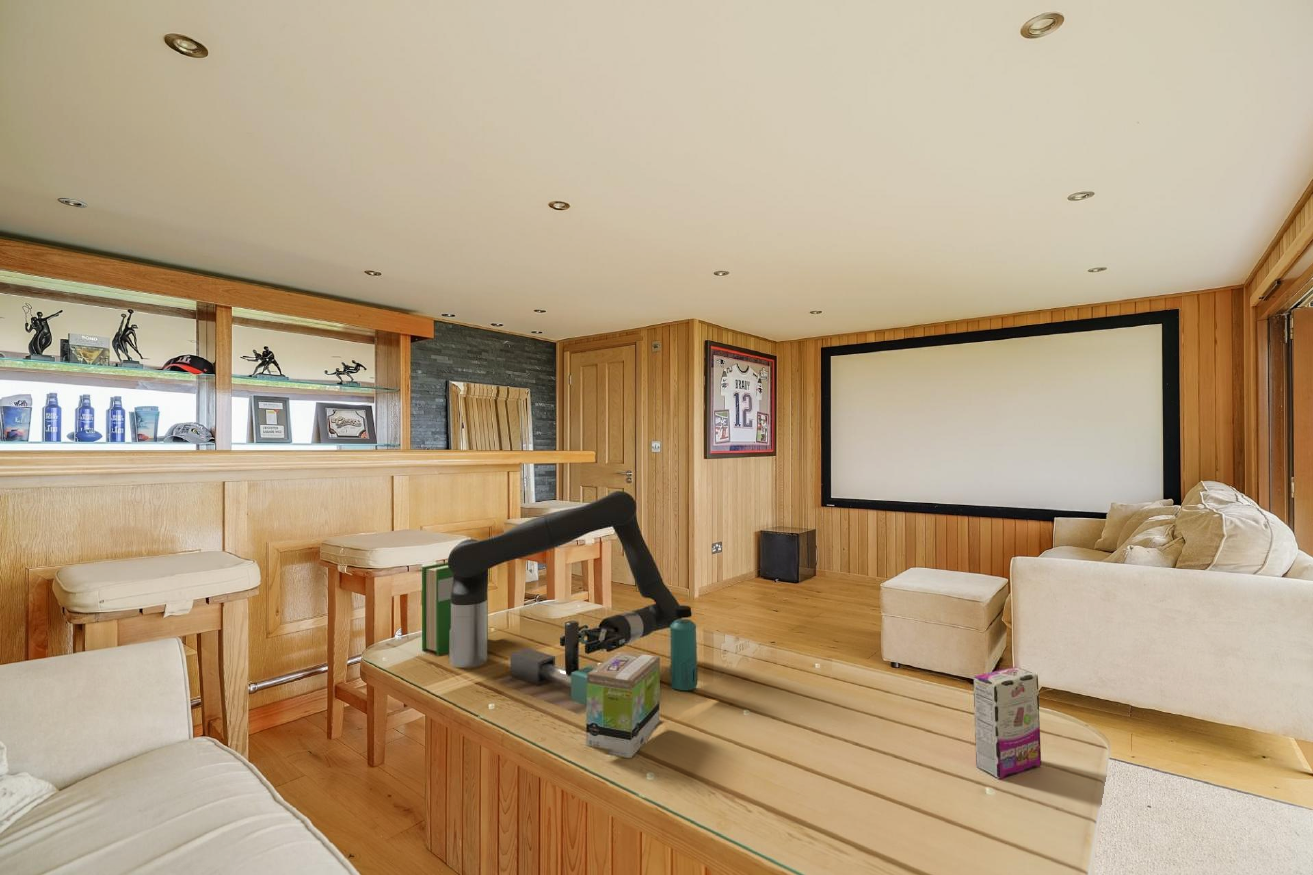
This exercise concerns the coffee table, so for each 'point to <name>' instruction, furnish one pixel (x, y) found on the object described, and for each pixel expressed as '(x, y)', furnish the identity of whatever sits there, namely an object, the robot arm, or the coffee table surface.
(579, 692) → the socket
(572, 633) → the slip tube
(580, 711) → the base board
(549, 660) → the grey block
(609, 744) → the tea box
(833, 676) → the coffee table surface
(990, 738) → the candy bar box
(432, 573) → the hardback book
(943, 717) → the coffee table surface
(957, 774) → the coffee table surface
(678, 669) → the beverage bottle
